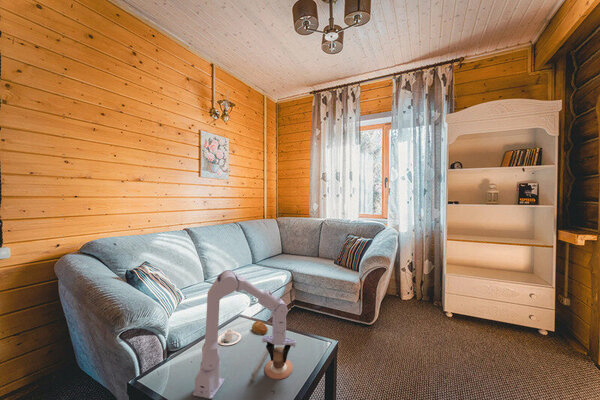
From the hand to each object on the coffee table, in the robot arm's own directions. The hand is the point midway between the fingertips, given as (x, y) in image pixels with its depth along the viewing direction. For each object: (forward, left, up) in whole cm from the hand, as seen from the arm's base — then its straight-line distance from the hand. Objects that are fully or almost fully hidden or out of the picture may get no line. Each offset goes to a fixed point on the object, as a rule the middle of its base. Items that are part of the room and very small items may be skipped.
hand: (278, 360), depth 105 cm
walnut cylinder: (0, 0, -2) cm, 2 cm away
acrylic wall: (0, +8, -4) cm, 9 cm away
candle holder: (+15, +31, -4) cm, 35 cm away
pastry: (+26, +19, -4) cm, 33 cm away
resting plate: (0, 0, -4) cm, 4 cm away
